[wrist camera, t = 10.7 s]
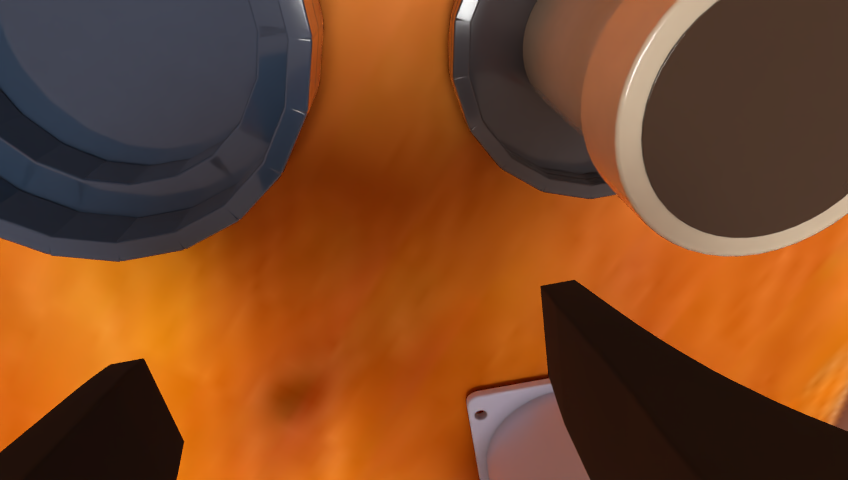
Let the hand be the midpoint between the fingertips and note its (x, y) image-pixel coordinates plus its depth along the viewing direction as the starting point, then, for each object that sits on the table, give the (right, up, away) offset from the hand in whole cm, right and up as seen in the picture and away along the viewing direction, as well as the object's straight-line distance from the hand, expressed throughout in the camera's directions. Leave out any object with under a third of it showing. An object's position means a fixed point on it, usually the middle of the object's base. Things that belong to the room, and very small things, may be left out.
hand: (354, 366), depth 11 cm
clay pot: (+7, +8, +8) cm, 13 cm away
